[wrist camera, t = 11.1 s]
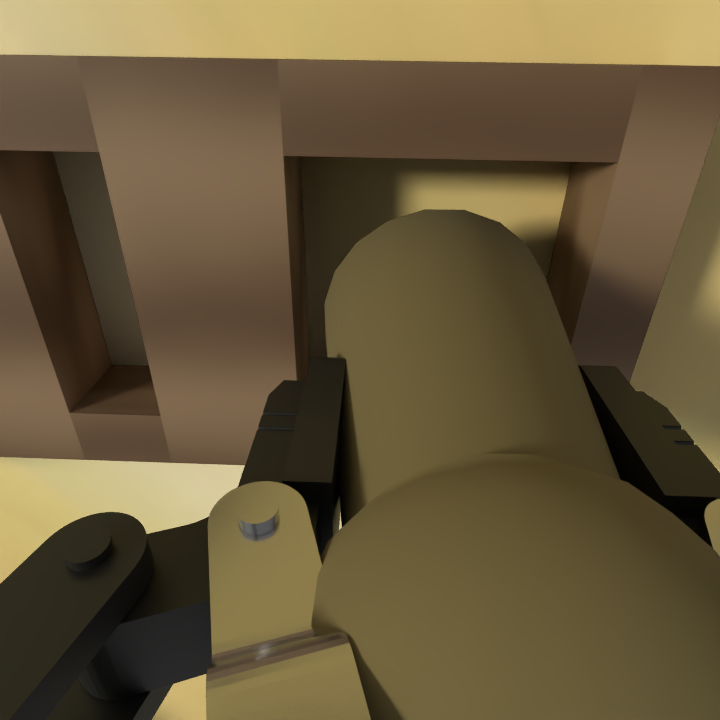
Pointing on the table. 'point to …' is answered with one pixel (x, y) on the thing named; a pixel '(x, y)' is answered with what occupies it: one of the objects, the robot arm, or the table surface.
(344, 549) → the cork
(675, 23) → the table surface
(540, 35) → the table surface
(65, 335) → the brown slatted wooden frame
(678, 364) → the table surface
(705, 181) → the table surface
